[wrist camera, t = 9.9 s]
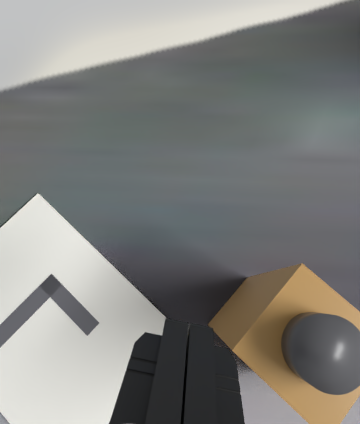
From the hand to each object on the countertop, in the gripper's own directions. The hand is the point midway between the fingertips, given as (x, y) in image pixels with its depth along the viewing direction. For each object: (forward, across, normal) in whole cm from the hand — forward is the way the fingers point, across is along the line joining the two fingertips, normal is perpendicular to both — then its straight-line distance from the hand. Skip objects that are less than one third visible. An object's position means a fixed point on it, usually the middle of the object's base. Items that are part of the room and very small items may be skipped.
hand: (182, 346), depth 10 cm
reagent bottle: (+12, -6, +6) cm, 15 cm away
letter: (+11, +9, +9) cm, 17 cm away
